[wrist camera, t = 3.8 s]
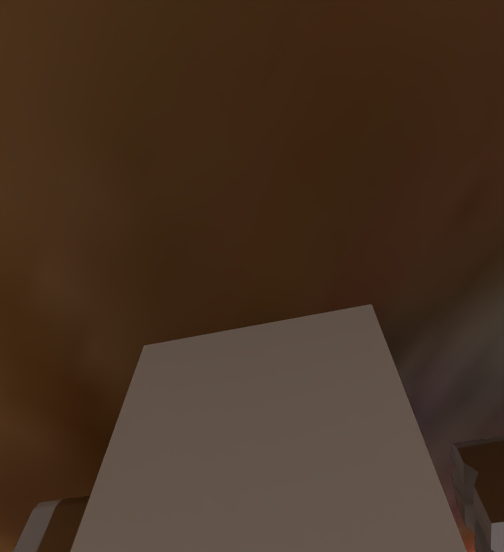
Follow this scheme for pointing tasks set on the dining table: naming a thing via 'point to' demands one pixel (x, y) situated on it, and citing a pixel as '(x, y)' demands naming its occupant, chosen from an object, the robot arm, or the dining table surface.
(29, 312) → the dining table surface
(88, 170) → the dining table surface
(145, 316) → the dining table surface
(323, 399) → the cream block
